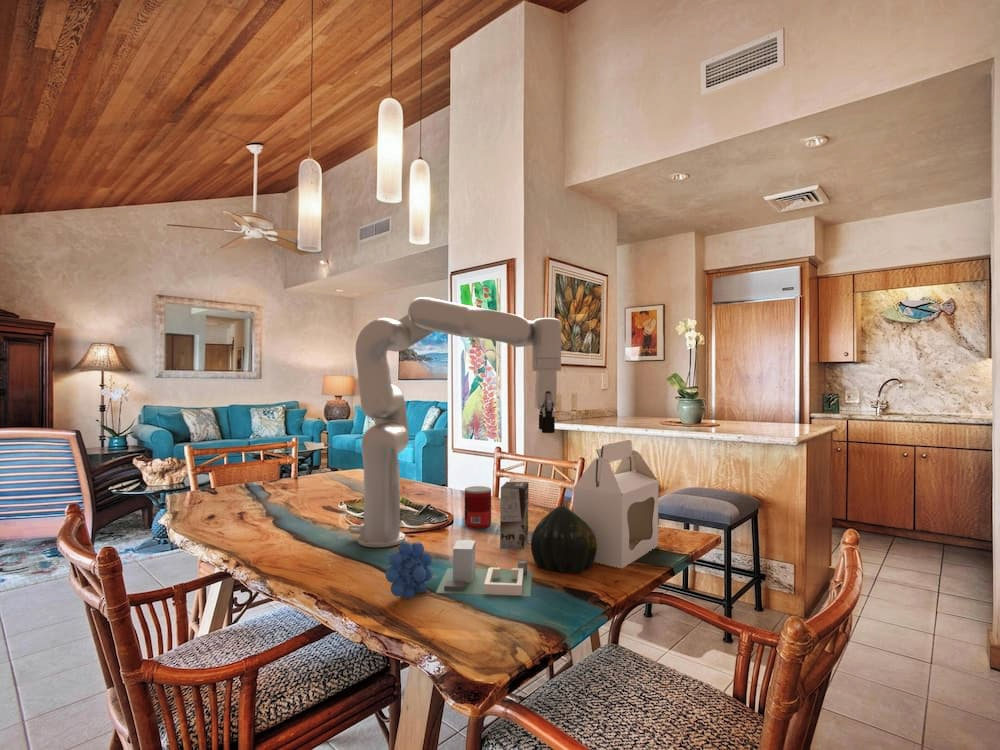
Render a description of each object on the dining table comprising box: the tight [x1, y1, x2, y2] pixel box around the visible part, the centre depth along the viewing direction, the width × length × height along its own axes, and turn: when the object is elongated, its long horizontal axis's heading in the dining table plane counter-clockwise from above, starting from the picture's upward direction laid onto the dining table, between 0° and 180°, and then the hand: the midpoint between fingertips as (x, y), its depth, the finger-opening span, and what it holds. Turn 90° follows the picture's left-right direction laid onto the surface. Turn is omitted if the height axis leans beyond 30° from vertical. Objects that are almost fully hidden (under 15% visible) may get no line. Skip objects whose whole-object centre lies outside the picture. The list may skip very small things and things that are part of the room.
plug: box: [452, 539, 476, 583], centre depth 117 cm, size 4×7×7 cm, turn 175°
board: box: [435, 560, 533, 597], centre depth 114 cm, size 19×14×4 cm
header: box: [484, 566, 523, 596], centre depth 112 cm, size 8×10×2 cm
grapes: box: [385, 541, 433, 599], centre depth 106 cm, size 12×7×12 cm, turn 141°
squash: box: [530, 504, 597, 575], centre depth 125 cm, size 14×15×15 cm
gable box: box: [572, 439, 659, 569], centre depth 138 cm, size 22×13×28 cm, turn 142°
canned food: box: [464, 485, 492, 530], centre depth 161 cm, size 8×8×11 cm
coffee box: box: [499, 481, 530, 550], centre depth 143 cm, size 9×6×16 cm
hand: (546, 430), depth 141 cm, fingers open, 9 cm apart
